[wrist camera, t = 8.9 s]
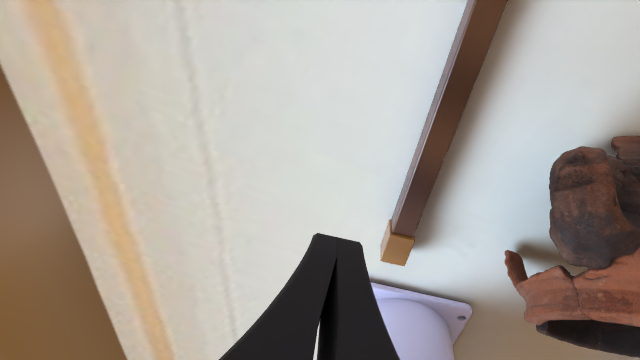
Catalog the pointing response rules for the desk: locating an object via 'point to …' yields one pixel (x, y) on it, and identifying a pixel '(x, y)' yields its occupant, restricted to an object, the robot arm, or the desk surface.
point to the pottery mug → (590, 252)
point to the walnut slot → (441, 123)
